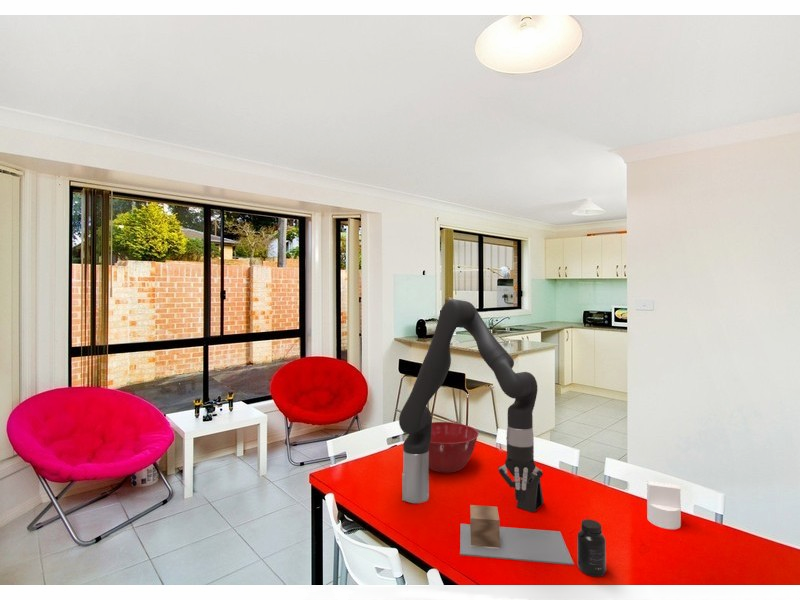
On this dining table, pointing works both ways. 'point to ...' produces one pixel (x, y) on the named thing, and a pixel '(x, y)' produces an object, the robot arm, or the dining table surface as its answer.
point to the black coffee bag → (532, 497)
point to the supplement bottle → (591, 548)
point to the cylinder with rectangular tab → (664, 505)
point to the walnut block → (484, 526)
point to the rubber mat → (520, 545)
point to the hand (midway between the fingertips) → (520, 501)
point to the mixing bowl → (451, 446)
